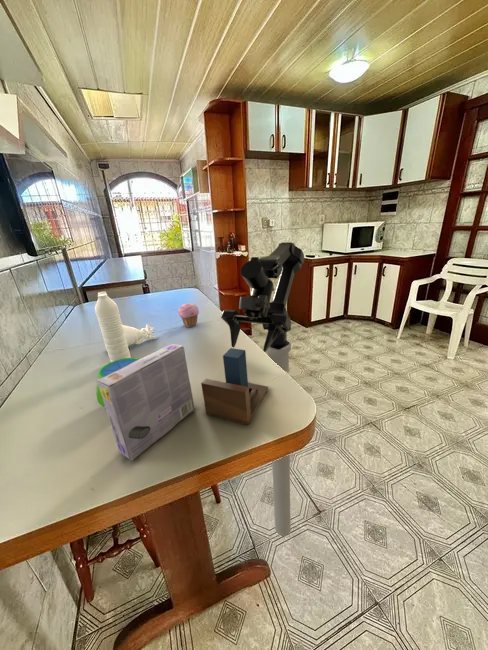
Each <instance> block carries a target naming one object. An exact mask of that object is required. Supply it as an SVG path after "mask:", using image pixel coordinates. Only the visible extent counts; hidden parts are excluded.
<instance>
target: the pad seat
mask: <svg viewBox="0 0 488 650" xmlns="http://www.w3.org/2000/svg"><path fill="white" fill-rule="evenodd" d="M200 384H201V391H202V397H203V404H204V410H205V414H206V415H207V416H211V417H215V418H218V419H222V420H225V421H230V422H234V423H237V424H240V425H245V426H249V425H250V423H251V421H252V419H253V417H254V416H255V414H256V412H257V410H258V408H259V407H260V405H261V403H262V401H263V400H264V398H265V396H266V395H267V393H268V391H269V386H267V385H262V384H257V383H251V382H248V387H245V386H240V385H235V384H230V383H226V381H225V382H224V381H220V380H215V379H209V378H205V379H204V380H203V381H201V383H200Z"/></svg>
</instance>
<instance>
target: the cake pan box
mask: <svg viewBox="0 0 488 650" xmlns="http://www.w3.org/2000/svg"><path fill="white" fill-rule="evenodd" d="M139 359H140V360H137V361H135V362H133V363H132V364H130V365H128V366H126V367H124V368H122V369H120V370H118V371H116V372H114V373H112V374H110V375H108V376H105V377H103V378H101V379H97V381H96V383H97V385H98V386H99V389H100V392H101V395H102V398H103V401H104V405H105V407H104V408H105V411H106V415H107V417H108V420H109V423H110V426H111V430H112V433H113V436H114V439H115V442H116V445H117V448H118V451H119V453H120V454H121V455H123V456H124V457H126V458H127V459H128V460H130V461H131V462H132V461H135V460H136V459H137V458H138V456H140V455H141V454H142V453H144V452H145V451H146V450H147V449H148V448H150V447H151V446H152V445H153V444H154V443H156V442H157V441H158V440H161V439H162V438H163V437H164V436H165V435H166V434H167V433H169V432H170V431H171V430H172V429H174V428H175V426H176V425H177V424H179V423H180V422H181V421H183V419H185V418H186V417H188V416H189V414H191V413H192V412H194V411H195V409H196V408H195V404H194V397H193V392H192V386H191V381H190V376H189V370H188V364H187V358H186V350H185V347H184V346H183V345H180V344H174V343H170V344H168V345H166V346H164V347H162V348H160V349H158V350H156V351H154V352H152V353H150V354H147V355H146V356H144V357H141V358H139Z"/></svg>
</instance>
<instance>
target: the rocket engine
mask: <svg viewBox="0 0 488 650" xmlns="http://www.w3.org/2000/svg"><path fill="white" fill-rule="evenodd" d="M122 326H123V329H124V334H125V337H126V340H127V345H128V347H130V346H132V345H141V344H143V343H144V342H145V341H151V340H155V339H157V335H153V331H155V330H156V328H155V327H154V326H152V327H151V326H150V324H146V325H145V327H142V328H140V329H139V328H136V327H133V326H129V325H124V324H122ZM104 346H105V345H104ZM105 350H106V351H107V349H106V346H105Z"/></svg>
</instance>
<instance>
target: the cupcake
mask: <svg viewBox="0 0 488 650" xmlns="http://www.w3.org/2000/svg"><path fill="white" fill-rule="evenodd" d="M199 313H200V310H199V307H198V306H197V304H195V303H182V304H181V305H180V306H179V308H178V310H177V314H178V316H180V318H181V320H182V324H183V326H185V327H187V328H192V327H194V326H196V325H197V323H198V315H199Z"/></svg>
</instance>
